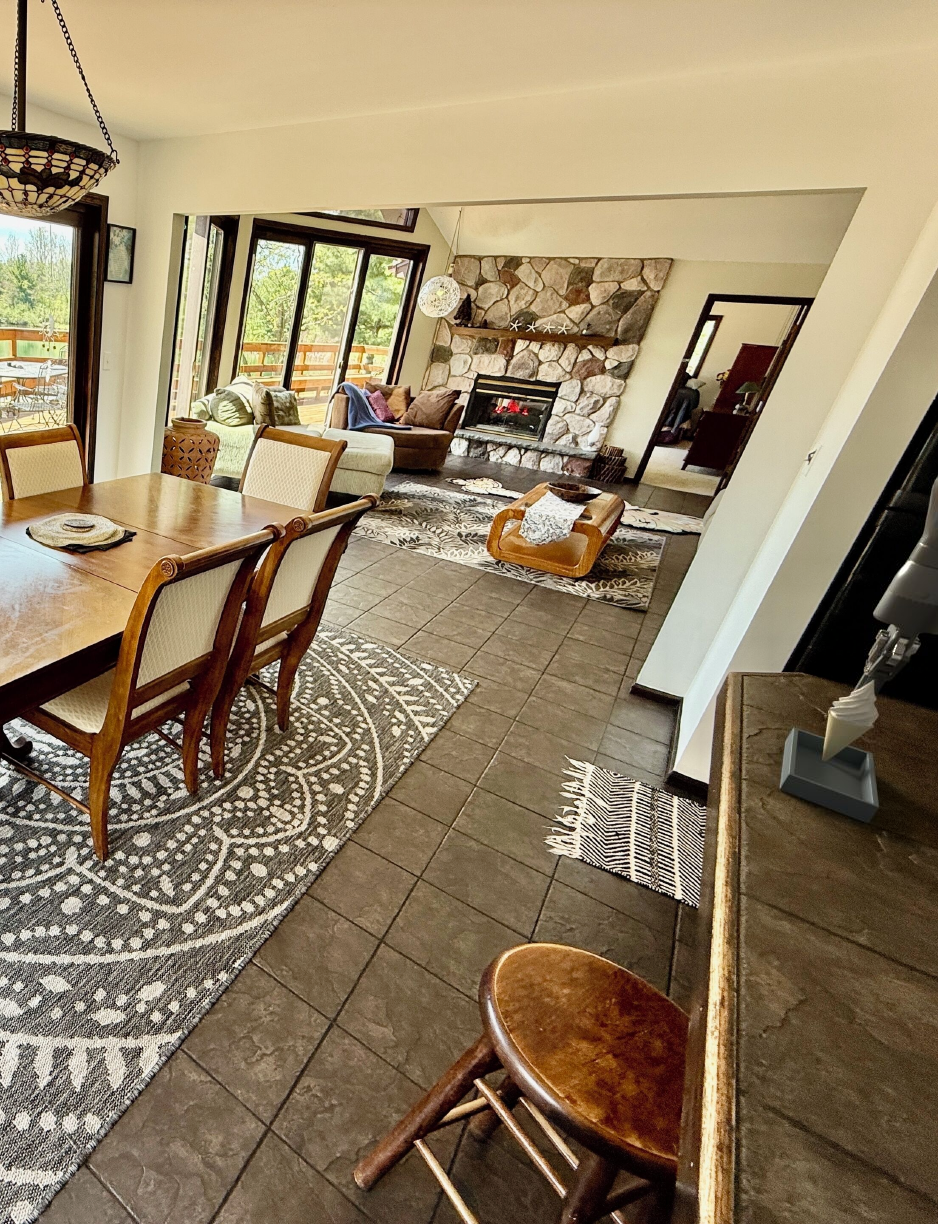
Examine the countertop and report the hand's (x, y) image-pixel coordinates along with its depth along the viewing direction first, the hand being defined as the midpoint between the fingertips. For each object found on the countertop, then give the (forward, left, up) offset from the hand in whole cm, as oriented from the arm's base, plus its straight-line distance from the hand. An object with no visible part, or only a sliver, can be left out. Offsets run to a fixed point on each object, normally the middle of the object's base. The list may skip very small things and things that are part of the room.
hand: (862, 696), depth 100 cm
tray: (+3, +9, -11) cm, 15 cm away
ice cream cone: (+1, +3, -11) cm, 12 cm away
